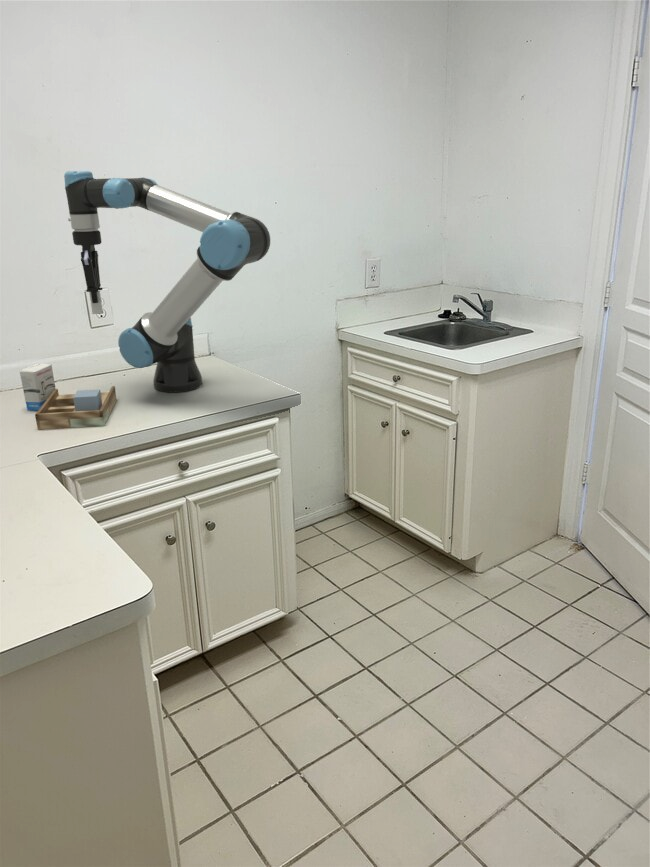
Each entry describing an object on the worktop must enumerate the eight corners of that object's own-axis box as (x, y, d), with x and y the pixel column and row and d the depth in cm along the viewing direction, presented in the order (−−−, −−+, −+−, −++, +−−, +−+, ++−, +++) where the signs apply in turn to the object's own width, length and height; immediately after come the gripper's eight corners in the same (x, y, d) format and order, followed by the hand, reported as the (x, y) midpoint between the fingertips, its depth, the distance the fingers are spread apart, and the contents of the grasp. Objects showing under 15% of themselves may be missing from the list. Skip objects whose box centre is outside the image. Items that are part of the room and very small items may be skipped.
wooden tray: (116, 399, 192) (114, 386, 190) (104, 425, 172) (102, 410, 170) (57, 402, 190) (54, 389, 188) (37, 429, 169) (34, 414, 168)
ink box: (41, 411, 183) (34, 371, 178) (26, 410, 184) (18, 370, 179) (59, 401, 190) (52, 363, 186) (44, 400, 191) (37, 362, 187)
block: (102, 406, 179) (100, 389, 177) (99, 413, 174) (96, 396, 172) (80, 407, 178) (77, 390, 176) (76, 415, 173) (73, 397, 171)
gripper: (76, 228, 186) (88, 309, 195) (67, 232, 174) (80, 318, 183) (103, 228, 187) (114, 308, 196) (95, 231, 175) (107, 317, 184)
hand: (97, 313), depth 190 cm, fingers closed
